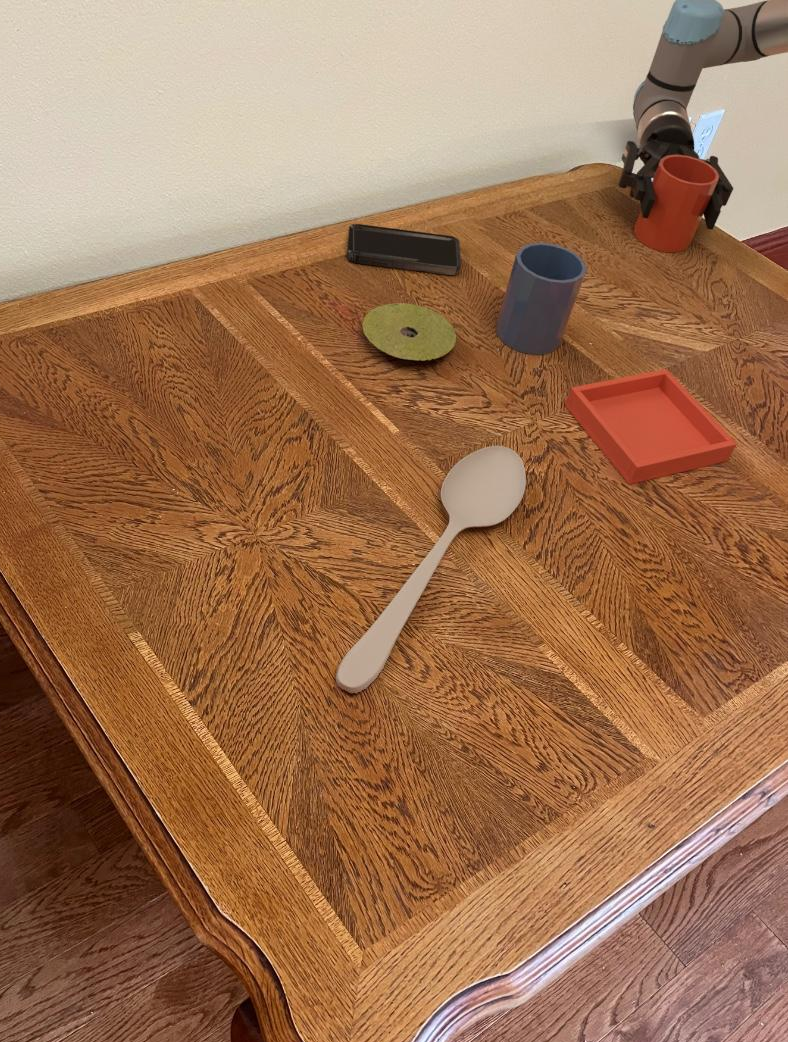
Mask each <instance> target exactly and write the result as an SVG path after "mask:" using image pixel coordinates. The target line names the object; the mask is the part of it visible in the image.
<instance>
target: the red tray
mask: <svg viewBox="0 0 788 1042" xmlns="http://www.w3.org/2000/svg"><path fill="white" fill-rule="evenodd" d="M564 407H565V408H566V409H567V410H568V412H569V413H570V414H571V416H572V417H573V418H574V419H575V421H576V422H577V423H578V424H579V425H580V427H581V428H582V429H583V430H584V432H585V433H586V434H587V435H588V436H589V437H590V439H591V440H592V441H593V443H594V444H596V445H595V446H597V447H598V449H599V450H600V451H601V452H602V453H603V455H604V456H605V457H606V458H607V460H608V461H609V462H610V463H611V465H612V466H613V467H614V468H615V469H616V471H617V472H618V474H620V475H621V477H622V479H624V480H625V482H626V483H627V484H628V485H633V484H638V483H641V482H646V481H650V480H655V479H658V478H662V477H663V478H664V477H667V476H671V475H675V474H679V473H684V472H688V471H693V470H696V469H700V468H704V467H708V466H709V467H710V466H712V465H718V464H720V463H726V462H728V460H729V459H730V457H731V455H732V454H733V453H734V450H735V449H736V448H737V445H738V443H737V442H736V441H735V440H734V439H733V438H732V437H731V436H730V435H729V433H728V432H727V431H726V430H725V429H724V428H723V427H722V426H721V425H720V424H719V423H718V422H717V421H716V420H715V419H714V418H713V416H712V415H711V414H710V413H709V412H708V411H707V410H706V409H705V408H704V407H703V406H702V405H701V404H700V403H699V402H698V400H697V399H696V398H695V397H694V396H693V395H692V393H690V392H689V391H688V390H687V388H685V387H684V385H683V384H681V382H680V381H679V380H678V379H677V378H676V377H675V376H674V375H673V374H672V373H671V372H670V371H669V369H667V368H664V369H658V370H655V371H649V372H644V373H638V374H633V375H628V376H624V377H618V378H613V379H607V380H603V381H598V382H593V383H587V384H581V385H578V386H572V387H570V389H569V392H568V394H567V397H566V399H565V403H564Z"/></svg>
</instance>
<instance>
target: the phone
mask: <svg viewBox="0 0 788 1042" xmlns="http://www.w3.org/2000/svg"><path fill="white" fill-rule="evenodd" d="M346 246H347V247H346V259H347V260H348V261H349V262H350V263H355V264H360V265H361V264H362V265H368V266H377V267H384V268H391V269H399V270H407V271H416V272H424V273H431V274H439V275H447V276H457V275H458V274H460V271H461V266H462V256H461V242H460V239H459V238H458V237H456V236H453V235H446V234H438V233H431V232H422V231H415V230H408V229H401V228H392V227H385V226H379V225H377V226H376V225H369V224H362V223H352V224H350V225H349V227H348V232H347V245H346Z"/></svg>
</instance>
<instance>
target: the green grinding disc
mask: <svg viewBox="0 0 788 1042" xmlns="http://www.w3.org/2000/svg"><path fill="white" fill-rule="evenodd" d="M362 330H363V334H364V336H365V337H366V338H367V340H368V341H369V342H370V343H371V344H372V345H373V346H374V347H376V349H378V350H380V351H381V352H383V353H386V354H387V355H389V356H392V357H394V358H398V359H402V360H407V361H408V360H409V361H417V362H419V361H424V362H425V361H432V359H433V360H436V359H438V358H441V357H444V356H445V355H447V354H448V353H449V352H450V351H451V350H452V349H453V348H454V347H455V345H456V342H457V334H456V330H455V329H454V326H453V325H452V324H451V323H450V321H449V320H448V319H447V318H445V317H444V316H443V315H442V314H441V313H438V312H437V311H435V310H434V309H430V308H428V307H426V306H422V305H419V304H418V305H417V304H413V303H406V302H405V303H404V302H399V303H397V302H396V303H386V304H383V305H379V306H377V307H374V308H372V309H371V310H370V311H369V312H367V314H366V315H365V316H364V318H363V321H362Z"/></svg>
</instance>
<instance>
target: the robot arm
mask: <svg viewBox="0 0 788 1042" xmlns="http://www.w3.org/2000/svg"><path fill="white" fill-rule="evenodd" d="M785 53H786V54H787V53H788V0H763V1H757V2H754V3H751V4H747V5H742V6H738V7H732V8H727V9H724V7H723V5H722V4H721V3H720V2H719V1H718V0H675V1H674V2H673V4H672V5H671V8H670V12H669V14H668V16H667V18H666V20H665V22H664V24H663V26H662V31H661V35H660V38H659V40H658V43H657V47H656V49H655V52H654V55H653V58H652V61H651V64H650V66H649V69H648V73H647V75H646V77H645V79H644V80H643V81H642V82H641V83H640V84H639V86H638V87H637V88H636V91H635V93H634V96H633V102H632V103H633V104H632V110H633V112H632V115H633V119H634V122H635V127H636V133H637V138H638V144H639V145H637V144H636V143H635V142H634V141H633V140H628V141H626V145H625V148H624V150H623V153H622V156H621V161H622V162H623V166H622V171H621V173H620V178H619V180H618V185H617V186H618V187H619V188H621V189H626V188H627V187H630V191H629V194H628V195H629V197H631V198H633V199H634V200H635V201H639V205H640V212H641V211H642V218H648V217H649V214H650V212H651V209H652V207H653V204H654V202H655V196H654V190H653V185H652V181H653V178H654V175H655V173H656V170H657V168H658V165H659V163H660V160H661V159H662V158H664V157H666V156H668V155H684V156H690V157H693V158H697V159H700V160H702V161H704V162H706V163H708V164H710V165H711V166H712V167H713V168H715V169H716V170H717V172H718V174H719V179H718V182H717V184H716V187H715V189H714V191H713V193H712V196H711V198H710V200H709V202H708V205H707V207H706V209H705V212H704V214H703V218H704V222H705V226H706V229H707V230H710V231H711V230H714V228H715V226H716V223H717V221H718V219H719V216H720V214H721V212H722V211H721V209H722V208H723V207H726V206H727V204H728V201H729V199H730V197H731V195H732V193H733V191H734V186H733V185H732V183H731V182H730V180H729V179H728V177H727V175H726V174H725V173H724V171H723V169H722V168H721V166H720V165H719V157H718V156H715V155H710V157H709V158H706V159H704V158H700V156H699V153H697V152H696V151H695V139H694V135H693V130H692V124H691V121H690V118H689V115H688V111H687V108H688V107H689V103H690V100H691V99H692V95H693V93H694V90H695V88H696V86H697V84H698V80H699V78H700V77H701V74H702V70H703V69H707V68H713V67H721V66H724V65H731V64H736V63H746V62H747V63H748V62H752V61H758V60H760V59H763V58H768V57H771V56H776V55H781V54H785ZM639 159H640V160H641V162H642V163H643V166H642V167H640V169H639V170H638V171H637V173H635V172H633V170H634V167H635V163H636V161H638V160H639Z"/></svg>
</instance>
